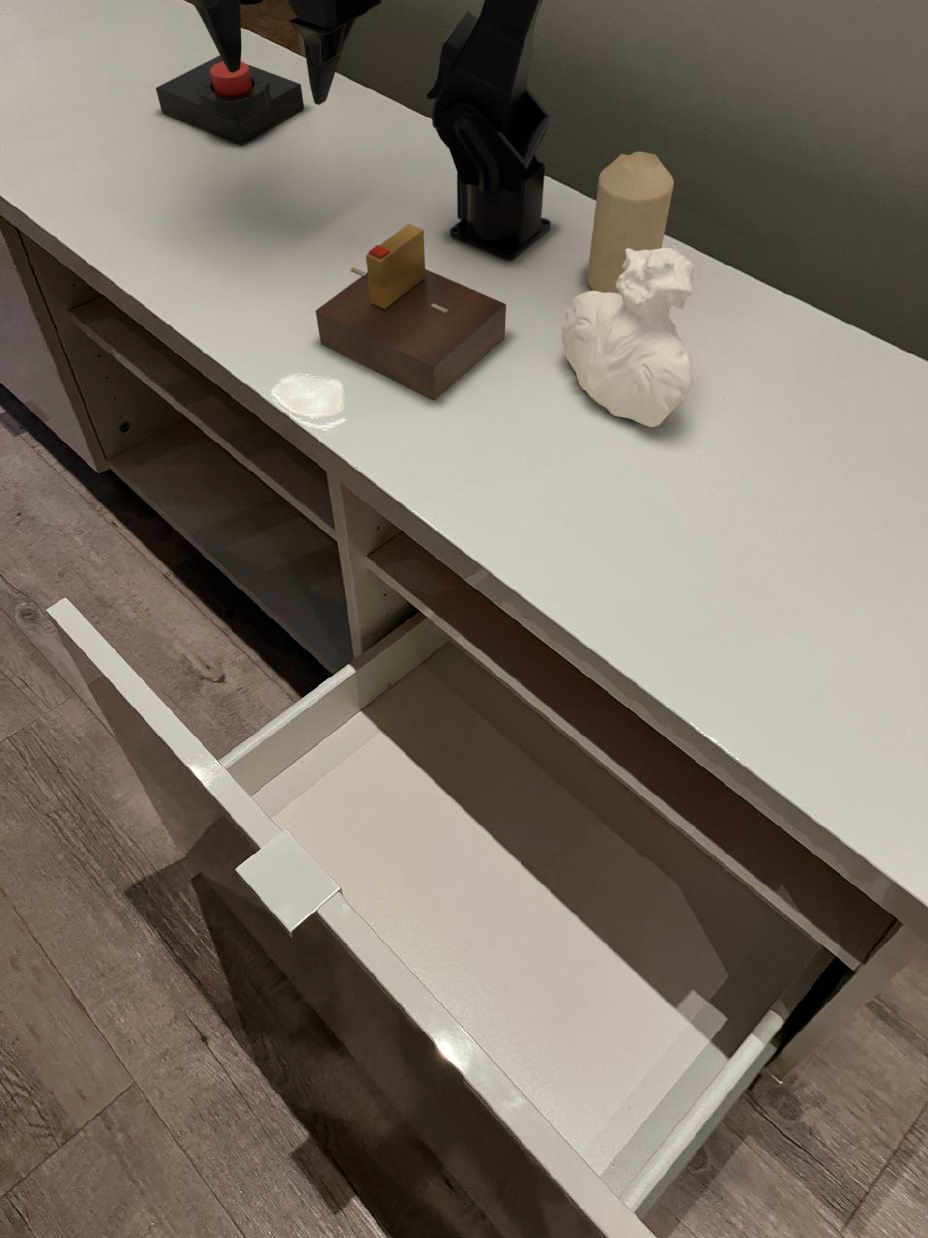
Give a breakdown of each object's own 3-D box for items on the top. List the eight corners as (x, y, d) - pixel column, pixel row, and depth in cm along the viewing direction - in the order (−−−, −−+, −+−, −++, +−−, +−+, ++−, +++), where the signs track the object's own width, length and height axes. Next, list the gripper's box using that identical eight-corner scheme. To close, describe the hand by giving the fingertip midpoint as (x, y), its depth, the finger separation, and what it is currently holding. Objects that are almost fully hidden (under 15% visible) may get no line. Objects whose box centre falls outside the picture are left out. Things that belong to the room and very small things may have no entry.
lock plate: (505, 337, 71) (506, 301, 68) (434, 400, 67) (433, 365, 64) (383, 282, 75) (380, 246, 73) (309, 338, 71) (303, 303, 68)
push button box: (310, 111, 92) (304, 68, 89) (241, 151, 88) (232, 107, 84) (226, 78, 96) (217, 36, 93) (156, 115, 92) (144, 72, 88)
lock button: (260, 86, 87) (256, 66, 86) (233, 101, 86) (229, 81, 84) (233, 75, 89) (229, 56, 87) (205, 90, 87) (201, 70, 86)
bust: (677, 455, 66) (779, 316, 62) (623, 441, 61) (730, 286, 56) (572, 367, 72) (657, 233, 67) (514, 346, 66) (602, 198, 62)
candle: (632, 310, 73) (653, 188, 65) (573, 285, 75) (587, 163, 67) (667, 277, 76) (691, 156, 67) (609, 254, 77) (626, 133, 69)
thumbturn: (411, 271, 71) (408, 219, 68) (426, 277, 70) (424, 225, 67) (370, 303, 69) (365, 251, 65) (384, 310, 68) (380, 258, 65)
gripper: (53, -155, 61) (121, 92, 74) (265, -94, 55) (299, 163, 68) (174, -194, 67) (218, 42, 79) (379, -142, 61) (391, 104, 73)
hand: (276, 86), depth 75 cm, fingers open, 9 cm apart
